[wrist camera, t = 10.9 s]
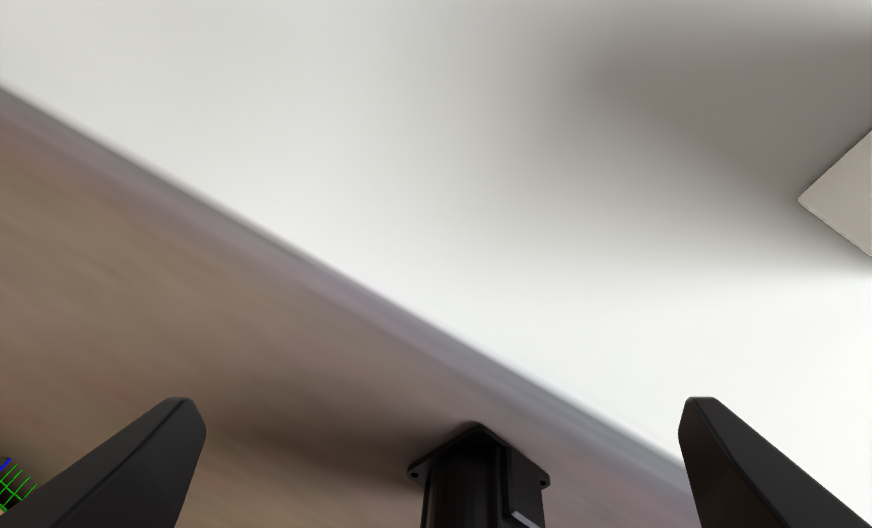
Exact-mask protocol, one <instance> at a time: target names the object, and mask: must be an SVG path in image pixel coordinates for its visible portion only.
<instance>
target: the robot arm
mask: <svg viewBox="0 0 872 528" xmlns="http://www.w3.org/2000/svg"><path fill="white" fill-rule="evenodd" d="M205 437H206V426H205V424H204V421H203V419H202V417H201V415H200V413H199V411H198V409H197V407H196V405H195V403H194V402H193V400H192V399H190V398H187V397H171V398H168V399H165V400H164V401H162V402H161V403H159V404H158V405H157V406H155V407H154V408H152V409H151V410H149V411H148V412H147V413H145V414H144V415H142V416H141V417H140V418H138V419H137V420H135V421H134V422H132V423H131V424H130V425H128V426H127V427H125V428H124V429H122V430H121V431H120V432H118V433H117V434H115V435H114V436H113V437H111V438H110V439H108V440H107V441H105V442H104V443H103V444H101V445H100V446H98V447H97V448H95V449H94V450H93V451H91V452H90V453H88V454H87V455H86V456H84V457H83V458H81V459H80V460H78V461H77V462H76V463H74V464H73V465H71V466H70V467H68V468H67V469H66V470H64V471H63V472H61V473H60V474H59V475H57V476H56V477H54V478H53V479H51V480H50V481H49V482H47V483H46V484H44V485H43V486H41V487H40V488H39V489H37V490H36V491H34V492H33V493H31V494H30V495H29V496H27V497H26V498H24V499H23V500H22V501H20V502H19V503H17V504H16V505H14V506H13V507H12V508H10V509H9V510H7V511H6V512H4V513H3V514H2V515H0V528H174V526H175V524H176V521H177V519H178V517H179V514H180V511H181V509H182V506H183V503H184V500H185V497H186V494H187V491H188V488H189V485H190V482H191V479H192V476H193V474H194V471H195V468H196V465H197V462H198V459H199V456H200V453H201V450H202V447H203V444H204V441H205ZM678 439H679V444H680V448H681V452H682V455H683V459H684V463H685V467H686V470H687V474H688V478H689V482H690V486H691V489H692V493H693V497H694V501H695V504H696V508H697V512H698V516H699V519H700V523H701V526H702V528H872V526H871V525H869V524H868V523H867V522H866V521H864V520H863V519H862V518H861V517H860V516H858V515H857V514H856V513H855V512H854V511H852V510H851V509H850V508H849V507H847V506H846V505H845V504H844V503H843V502H841V501H840V500H839V499H838V498H837V497H835V496H834V495H833V494H832V493H830V492H829V491H828V490H827V489H826V488H824V487H823V486H822V485H821V484H819V483H818V482H817V481H816V480H815V479H813V478H812V477H811V476H810V475H809V474H807V473H806V472H805V471H804V470H802V469H801V468H800V467H799V466H798V465H796V464H795V463H794V462H793V461H792V460H790V459H789V458H788V457H787V456H785V455H784V454H783V453H782V452H781V451H779V450H778V449H777V448H776V447H775V446H773V445H772V444H771V443H770V442H768V441H767V440H766V439H765V438H764V437H762V436H761V435H760V434H759V433H758V432H756V431H755V430H754V429H753V428H751V427H750V426H749V425H748V424H747V423H745V422H744V421H743V420H742V419H740V418H739V417H738V416H737V415H736V414H734V413H733V412H732V411H731V410H730V409H728V408H727V407H726V406H725V405H723V404H722V403H721V402H720V401H719V400H717V399H715V398H713V397H689V398H688V399H687V400H686V402H685V405H684V409H683V413H682V416H681V420H680V424H679V429H678ZM407 477H408V478H409V479H411V480H412V481H414V482H415V483H417V484H418V485H420V486H421V487H423V488H424V498H423V507H422V516H421V526H420V528H545V520H544V511H543V503H542V494H541V490H543V489H545V488H547V487H548V486H550V476H549V475H548V474H547V473H546V472H545V471H543V470H542V469H541V468H539V467H538V466H537V465H535V464H534V463H533V462H531V461H530V460H529V459H527V458H526V457H525V456H523V455H522V454H521V453H520V452H518V451H517V450H516V449H514V448H513V447H512V446H510V445H509V444H508V443H506V442H505V441H504V440H502V439H501V438H500V437H498V436H497V435H496V434H494V433H493V432H492V431H490V430H489V429H488V428H487V427H485V426H482V425H477V426H474V427H472V428H471V429H469V430H467V431H466V432H464V433H462V434H461V435H459V436H457V437H456V438H454V439H453V440H451V441H449V442H448V443H446V444H444V445H443V446H441V447H439V448H438V449H436V450H434V451H433V452H431V453H429V454H428V455H426V456H424V457H423V458H421V459H420V460H418V461H416V462H415V463H413V464H411V465H410V466H409V467H408V469H407Z"/></svg>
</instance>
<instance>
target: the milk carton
mask: <svg viewBox="0 0 872 528" xmlns="http://www.w3.org/2000/svg"><path fill="white" fill-rule="evenodd" d="M798 202H799V203H800V204H801V205H802V206H804V207H805V208H806V209H808V210H809V211H810V212H812V213H813V214H814V215H816V216H817V217H818V218H820V219H821V220H822V221H824V222H825V223H826V224H828V225H829V226H830V227H832V228H833V229H834V230H836V231H837V232H838V233H840V234H841V235H842V236H844V237H845V238H846V239H848V240H849V241H851V242H852V243H853V244H855V245H856V246H857V247H859V248H860V249H861V250H863V251H864V252H865V253H867V254H868V255H869V256H871V257H872V131H871V132H870V133H868V134H867V135H866V136H865V137H864V138H863V139H862V140H861V141H860V142H858V143H857V144H856V145H855V146H854V147H853V148H852V149H851V150H850V151H849V152H847V153H846V154H845V155H844V156H843V157H842V158H841V159H840V160H839V161H838V162H836V163H835V164H834V165H833V166H832V167H831V168H830V169H829V170H828V171H826V172H825V173H824V174H823V175H822V176H821V177H820V178H819V179H818V180H817V181H815V182H814V183H813V184H812V185H811V186H810V187H809V188H808V189H807V190H806V191H805V192H804V193H803V194H802V195H801V196H800V197H799V198H798Z"/></svg>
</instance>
